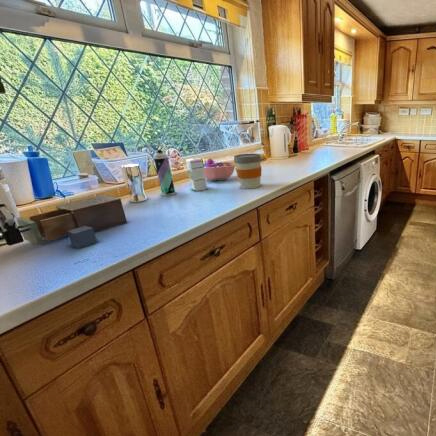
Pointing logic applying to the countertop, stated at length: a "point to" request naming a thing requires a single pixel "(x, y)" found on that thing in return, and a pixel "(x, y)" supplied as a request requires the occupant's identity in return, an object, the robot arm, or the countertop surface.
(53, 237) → the drawer
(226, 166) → the cell model
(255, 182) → the reusable coffee cup
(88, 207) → the cabinet
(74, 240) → the block
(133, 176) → the beer glass
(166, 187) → the spray can
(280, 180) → the countertop surface
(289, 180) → the countertop surface
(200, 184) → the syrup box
